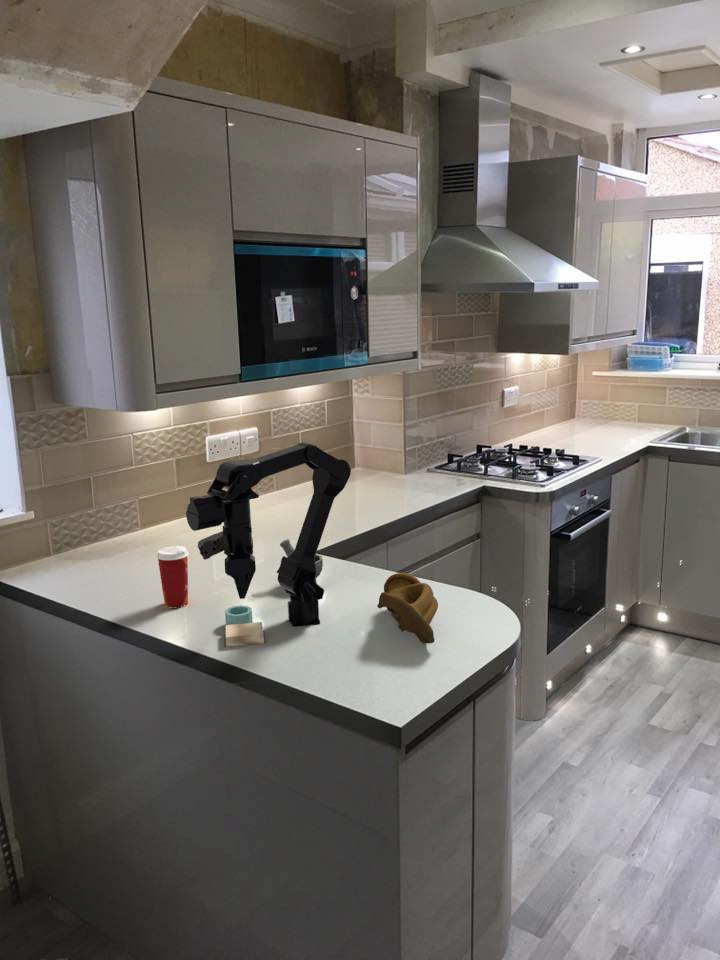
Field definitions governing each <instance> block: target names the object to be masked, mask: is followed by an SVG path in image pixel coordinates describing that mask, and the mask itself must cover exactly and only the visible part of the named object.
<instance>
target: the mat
mask: <svg viewBox="0 0 720 960" xmlns="http://www.w3.org/2000/svg"><path fill="white" fill-rule="evenodd" d="M263 634H264V643H261V644H260V645H266V644H267V639H266V631H265V630H263ZM256 645H259V644H251V645H250V646H256ZM223 646H224V647H223V648H226V649H227V647H226V633H224V634H223ZM245 646H249V645H240V646H239V647H245ZM234 647H238V646H230V647H229V648H234Z"/></svg>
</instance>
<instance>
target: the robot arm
mask: <svg viewBox="0 0 720 960" xmlns="http://www.w3.org/2000/svg"><path fill="white" fill-rule="evenodd" d="M301 465H306V466H307V467H308V468H309V469H311V470H313V473H312V476H311V477H312V478H311V479H312V486H313V494H312V496H311V498H310V503H309V505H308V508H307V511H306V515H305V517H304V521H303V524H302V526H301V529H300V533H299V536H298V539H297V542H296V544H295V548H294V552H293V553H292V554H291V555H290V556H289V557H288V558H287V556H284V555H283V556H282V558H281V559H280V564H279V568H278V569H277V570H276V573H277V582H278V583H279V586H280V587H281V588H282V589H283V590H284V592H285V594H287V595H289V601H287V615H288V616H287V617H288V622H289V623H290V624H291V627H293V628H294V627H295V628H296V627H304V626H317V625H321V621H320V620H321V619H320V610H319V609H320V607H319V600H322V599H324V598H323V597H324V594H325V589H324V588H323V587H322V586H320V585H319V584H318V583H315V577H316V566H315V555H316V554H317V552H318V549H319V546H320V543H321V540H322V536H323V534H324V531H325V527H326V524H327V522H328V519H329V517H330V516H329V515H330V513H331V510H332V507H333V504H334V500H335V499H336V498H337V496H339V494H340V493H341V492H342V491H343V490H344V489H345V487H346V486H347V483H348V481H349V479H350V477H351V471H352V469H351V467H350V464H349V463H348V461H347V460H345V459H342V458H338V457H334V456H333V455H331V454H329V453H327V452H326V451H325V450H322V449H321V448H319V447H318V446H317V445H316V444H313V443H309V442H306V441H305V442H304V441H301V442H299V443H297V444H296V445H292V446H290V447H287V448H284V449H280V450H278V451H275V452H271V453H269V454H265V455H263V456H260V457H256V458H251V459H248V458H247V459H235V460H227V461H224V462H222V463H221V464H219V466H218V468H217V471H216V476H215V477H214V479H213V481H212V483H211V484H210V486H209V488H208V490H207V491H206V495H201V496H191V497H189V504H187V507H186V511H185V518H186V520H187V524H188V526H189V529H191V530H192V531H193V532H196V531H200V530H201V531H202V530H204V529H205V530H206V529H210V528H214V527H219V526H221V525H222V524H223V525H222V531H219V532H217V533H214V534H212V535H211V534H210V535H209V536H207V537H204V538H202V539H200V540H199V541H198V542H197V548H198V550H199V555H201V556H202V559H203V560H204V561H205V560H208V559H211V557H213V556H216V555H217V554H218V555H219V554H220V553H222V552H223V554H224V555H226V557H225V558H224V573H225V575H226V576H229V577H230V578H233V581H234V584H235V586H236V587H235V588H236V591H237V595H238V597H239V599H241V600H244V599H245V598H246V596H247V594H248V591H249V588H250V586H251V582H252V580H253V578H254V575H255V573H256V571H257V568H256V566H257V565H256V558H255V556H254V539H253V536H252V534H253V533H252V532H253V531H252V529H253V528H252V518H251V517H252V516H251V502H250V501H251V500H253V499H258V498H260V495H259V494H258V493H256V492H255V491H254V490H253V489H252V488H253V487H256V486H257V485H258V484H259V483H260V482H261V481H262V480H263V479H265V478H267V477H270V476H272V475H275V474H279V473H281V472H284V471H287V470H289V469H292V468H296V467H298V466H301ZM224 488H225V489H227V490H225V489H224Z"/></svg>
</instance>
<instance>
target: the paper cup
mask: <svg viewBox="0 0 720 960" xmlns="http://www.w3.org/2000/svg"><path fill="white" fill-rule="evenodd" d="M189 555H190V554H189V552H188V550H187V548H186V547H185V546H181V545H172V546H165V547H162V548H160V549H159V550H158V551H157V554H156V559H157V561H158V568H159V575H160V583H161V589H162V594H163V595H162V597H163V602H164V606H165V605H166V606H167V607H181V606H184V605H186V604H187V603H188V604H189V576H188V575H189V573H188V572H189V566H188V565H189V564H188V563H189V562H188V556H189ZM188 604H187V605H188ZM187 605H186V606H187ZM166 606H165V607H166ZM167 607H166V608H167ZM184 607H185V606H184ZM181 608H182V607H181Z"/></svg>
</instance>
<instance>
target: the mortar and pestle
mask: <svg viewBox="0 0 720 960" xmlns="http://www.w3.org/2000/svg"><path fill="white" fill-rule="evenodd" d="M279 546H280V547H281V548H282V550H283V551H284V553H285V555H286V557H287V558H288V557H289V556H290V555H291V554H292V553H293V552H294V550H295V548H294V547H293V545H292V544H291V541H290V539H289V538H286V539H284V540H282V541H281V542H280V544H279ZM323 561H324V560H323V557H322V555H319V554H317V553H316V555H315V566H316V577H315V583H317V578H318V577H319V576H320V575H321V573H322V571H323V566H324V562H323ZM317 584H318V583H317Z"/></svg>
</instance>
